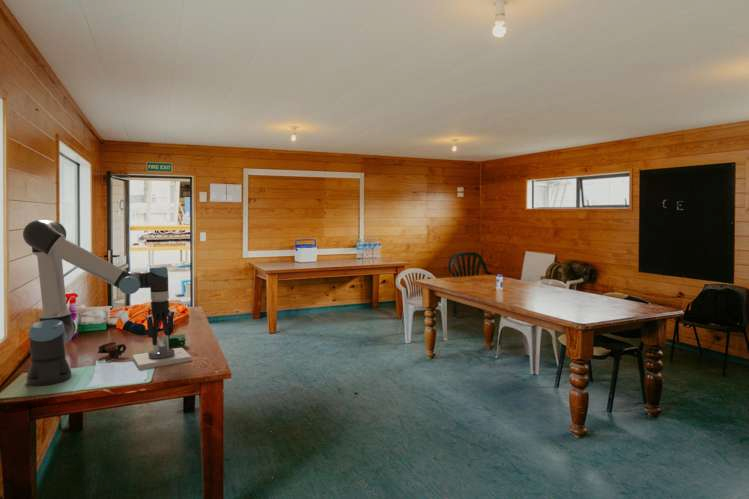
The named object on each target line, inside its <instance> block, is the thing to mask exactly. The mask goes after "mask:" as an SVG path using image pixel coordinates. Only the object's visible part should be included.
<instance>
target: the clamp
mask: <svg viewBox="0 0 749 499" xmlns="http://www.w3.org/2000/svg"><path fill="white" fill-rule="evenodd" d="M160 340H161V341H162V342H163V336H160ZM186 341H187V340H186V336H185V334H184V333H182V334H173V335H172V334H171V335H170V341H169V342H168V344H169V349H171V348H181V347H183V346H185V344H186Z"/></svg>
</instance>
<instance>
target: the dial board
mask: <svg viewBox="0 0 749 499" xmlns="http://www.w3.org/2000/svg"><path fill="white" fill-rule="evenodd" d="M172 349H173V350H174V355H173V356H171V357H168V358H163V359H151V358H149V357H148V353H149V352H144V353H136V354H132V355H131V359H132V362H133V363H134V364H135V365H136V366H135V367H137V369H138V370H144V369H149V368H150V369H151V368H156V367H162V366H168V365H173V364H180V363H185V362H192V356H191V355H190V353H188V352H187V350H185V349H184V348H183V347H180V348H179V347H174V348H172Z"/></svg>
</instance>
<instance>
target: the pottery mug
mask: <svg viewBox="0 0 749 499" xmlns="http://www.w3.org/2000/svg"><path fill="white" fill-rule="evenodd" d="M126 350H127V346H126V345H125V344H124V343H120V344H117V343H116V342H114V341H113V342H108V343H105V344H102V345H99V347H98V352H97V355H98V354H108V355H105V356H104V360H105V361H106V362H108V361H111V360H115V359H116V360H117V359H118V360H119V358H120V357H121V356H122V354H124V353H125V352H126Z"/></svg>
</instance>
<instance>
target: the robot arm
mask: <svg viewBox="0 0 749 499" xmlns="http://www.w3.org/2000/svg"><path fill="white" fill-rule="evenodd" d="M22 236H23V238H22V239H23V240H24V241H25V243H26V244H27V245H28V246H29V247H31V251H32V252H31V253H32V254H34V255H35V256H36V258H37V268H38V277H39V278H38V279H39V285H40V296H41V305H42V313H41V314H40V315H39V317H38V319H39V321H36V322H35V323H33V324H32V325H30V326H29V331H28V337H29V353H30V365H29V367H28V368H29V369H28V371H27V374H26V384H27V385H29V386H35V387H36V386H37V387H38V386H48V385H53V384H59V383H61V382H64V381H67V380H69V379H70V378H71V377H72V369H71V367H70V365H69V363H68V360H67V358H66V344H67V343H68V342H70V341H71V340H72V339H73V337H74V336H75V333H76V328H77V326H76V323H75V321H74V320H73V315H72V312H71V311H70V310H69V309H68V307H67V298H66V297H67V296H66V288H65V287H66V285H65V278H64V269H63V261H66V262H67V263H69V264H71V265H72V266H75V267H77V268H79V269H81V270H83V271H85V272H87V274H90V275H91V276H92V275H93V277H96V278H98V279H100V280H102V281H104V282H106V283H108V284H109V285H112V286H114V287H116V288H118V289H119V290H120V292H122V293H123V294H125V295H133V294H135V293H136V292H138V291H139V290H140V289H150V300H151V302H150V309H151V313H150V315H146V316H145V320H146V322H147V323H146V325H147V326H146V327H147V338H151V339H152V341H151V342H152V345H153V351H154V352H159V340H160V337H158V334H159V330H160V329H159V328H160V324H161V325H162V329H163V332H164V334H163V336H162V337H163V343H164V344H165V345H166V348H167V350H168V349H170V348H169V344H168V342H169V341H170V336H172V334H174V318H175V317H174V316H175V311H170V309H169V308H170V301H169V298H170V294H169V273H168V271H169V270H168V268H167V266H163V265H162V266H161V265H157V266H150V268H149V269H148V271H126V270H124V269H123V268H121V267H119V266H117V265H115V264H113V263H112V262H110V261H107V260H106V259H104V258H102V257H100V256H98V255H97V254H94V253H93V252H91V251H88V250H87V249H85V248H83V247H81V246H80V245H77V244H76V243H74V242H72V241H70V240H68V239H66V238H67V231H66V228H65V227H64V225H63V224H61V223H60V222H59V221H56V220H54V219H53V220H52V219H39V220H33V221H31V222H29V223H28V224H27V225H25V227H24V229H23V230H22Z"/></svg>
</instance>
